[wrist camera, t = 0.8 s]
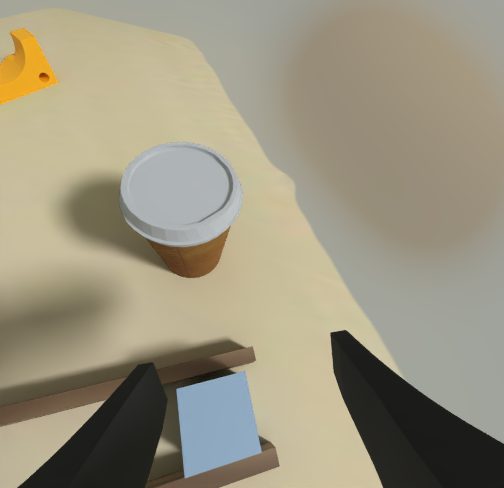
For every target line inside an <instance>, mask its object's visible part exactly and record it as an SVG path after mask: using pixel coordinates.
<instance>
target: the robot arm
mask: <svg viewBox="0 0 504 488" xmlns="http://www.w3.org/2000/svg"><path fill="white" fill-rule="evenodd" d="M330 334H331V346H332V357H333V369H334V374H335V377H336V380H337V383H338V386H339V389H340V392H341V394H342V397H343V400H344V402H345V404H346V406H347V408H348V411H349V413H350V415H351V417H352V419H353V421H354V423H355V426H356V428H357V430H358V432H359V434H360V436H361V438H362V440H363V443H364V445H365V447H366V449H367V451H368V453H369V455H370V458H371V460H372V462H373V464H374V466H375V469H376V471H377V473H378V476H379V478H380V480H381V483H382V486H383V488H504V444H503V443H501V442H500V441H497V440H496V439H494V438H492V437H491V436H489V435H487V434H486V433H484V432H482V431H481V430H479V429H477V428H475V427H474V426H472V425H470V424H468V423H467V422H465V421H463V420H462V419H460V418H459V417H457V416H455V415H454V414H452V413H451V412H449V411H448V410H446V409H445V408H443V407H442V406H440V405H438V404H437V403H435V402H434V401H433V400H431V399H429V398H428V397H427V396H425V395H424V394H422V393H421V392H420V391H418V390H417V389H416V388H414V387H413V386H412V385H410V384H409V383H408V382H406V381H405V380H404V379H402V378H401V377H400V376H399V375H397V374H396V373H395V372H393V371H392V370H391V369H390V368H389V367H387V366H386V365H385V364H384V363H383V362H381V361H380V360H379V359H378V358H377V357H375V356H374V355H373V354H372V353H371V352H370V351H369V350H367V349H366V348H365V347H364V346H363V345H362V344H361V343H360V342H359V341H357V340H356V339H355V338H354V337H353V336H352V335H351V334H350V333H349V332H348V331H346V330H343V331H337V332H331V333H330ZM167 400H168V399H167V397H166V394H165V392H164V389H163V386H162V384H161V381H160V379H159V376H158V373H157V371H156V368H155V366H154V363H153V362H152V363H146V364H140V365H138V366H137V367H136V368H135V369H134V370H133V371H132V372H131V373H130V374H129V376H128V377H127V378H126V379H125V380H124V381H123V382H122V383H121V385H120V386H119V387H118V388H117V389H116V390H115V391H114V392H113V393H112V395H111V396H110V397H109V398H108V399H107V400H106V401H105V402H104V403H103V405H102V406H101V407H100V408H99V409H98V410H97V411H96V412H95V413H94V414H93V415H92V416H91V418H90V419H89V420H88V421H87V422H86V423H85V424H84V425H83V426H82V427H81V428H80V429H79V430H78V431H77V432H76V433H75V434H74V435H73V436H72V437H71V438H70V439H69V440H68V441H67V442H66V443H65V444H64V445H63V446H62V447H61V448H60V449H59V450H58V451H57V452H56V453H55V454H54V455H53V456H52V457H51V458H50V459H49V460H48V461H47V462H46V463H44V464H43V465H42V466H41V467H40V468H39V469H38V470H37V471H36V472H35V473H34V474H33V475H31V476H30V477H29V478H28V479H27V480H26V481H25V482H24V483H22V484H21V485H20V486H19V487H18V488H145V486H146V483H147V479H148V476H149V473H150V469H151V466H152V463H153V459H154V456H155V453H156V449H157V446H158V442H159V439H160V435H161V432H162V428H163V423H164V418H165V412H166V406H167Z"/></svg>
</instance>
